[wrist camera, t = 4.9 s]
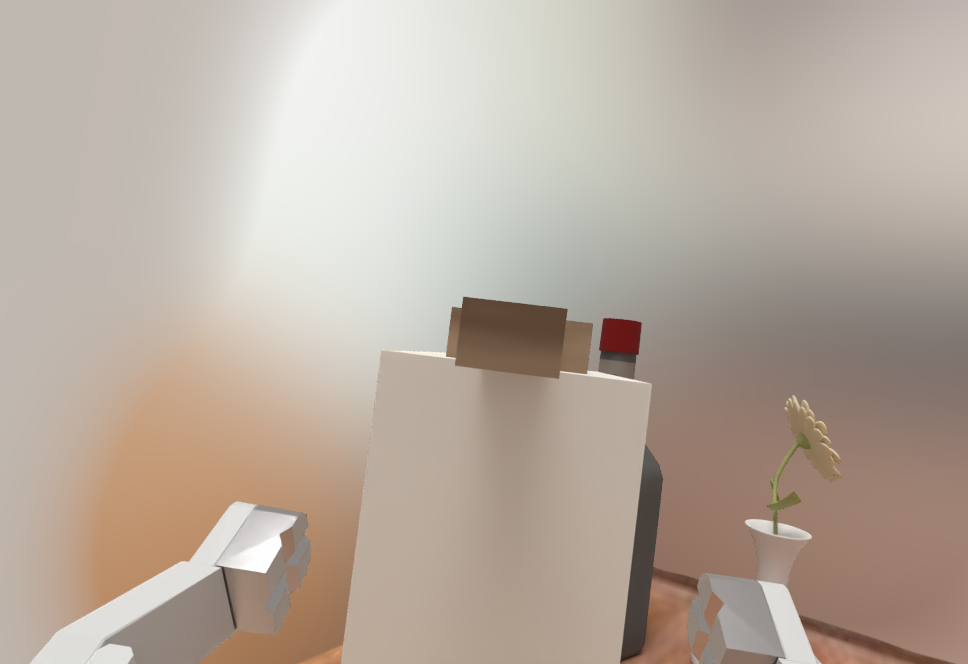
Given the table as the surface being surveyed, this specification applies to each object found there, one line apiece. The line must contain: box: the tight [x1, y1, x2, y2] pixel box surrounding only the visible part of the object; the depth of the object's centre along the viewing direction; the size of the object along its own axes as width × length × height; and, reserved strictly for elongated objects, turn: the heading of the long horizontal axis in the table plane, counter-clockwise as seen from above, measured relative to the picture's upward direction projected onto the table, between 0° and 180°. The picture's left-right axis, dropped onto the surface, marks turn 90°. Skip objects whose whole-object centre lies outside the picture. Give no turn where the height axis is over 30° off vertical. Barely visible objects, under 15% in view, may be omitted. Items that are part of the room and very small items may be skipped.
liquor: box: [598, 318, 663, 660], centre depth 55 cm, size 9×9×30 cm
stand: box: [341, 350, 652, 664], centre depth 34 cm, size 18×12×25 cm, turn 176°
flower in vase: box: [690, 396, 842, 664], centre depth 49 cm, size 13×11×25 cm
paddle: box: [446, 297, 593, 379], centre depth 26 cm, size 20×7×2 cm, turn 176°
